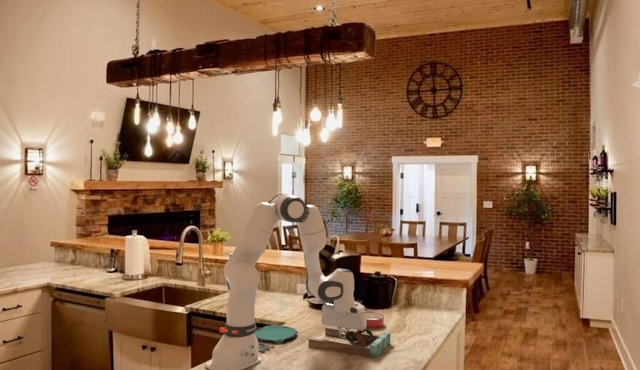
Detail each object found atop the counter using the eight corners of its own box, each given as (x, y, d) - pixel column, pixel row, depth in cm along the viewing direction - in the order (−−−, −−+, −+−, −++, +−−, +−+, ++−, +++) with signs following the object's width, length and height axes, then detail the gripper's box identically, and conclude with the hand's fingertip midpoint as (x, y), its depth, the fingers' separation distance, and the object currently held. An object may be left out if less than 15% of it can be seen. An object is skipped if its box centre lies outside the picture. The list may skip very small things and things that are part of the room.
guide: (375, 358, 200) (375, 346, 200) (308, 345, 213) (308, 334, 213) (390, 343, 217) (390, 332, 217) (327, 333, 230) (327, 322, 230)
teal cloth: (305, 333, 229) (305, 328, 229) (267, 356, 203) (267, 350, 203) (269, 327, 239) (269, 322, 239) (229, 347, 213) (229, 342, 213)
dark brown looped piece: (368, 341, 220) (374, 328, 217) (369, 358, 212) (376, 344, 208) (342, 335, 219) (348, 322, 215) (342, 351, 211) (348, 338, 207)
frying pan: (366, 343, 218) (367, 328, 218) (339, 338, 223) (339, 324, 223) (386, 322, 247) (386, 310, 247) (361, 319, 252) (361, 306, 252)
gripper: (319, 304, 218) (318, 335, 218) (363, 310, 209) (362, 343, 209) (325, 301, 223) (324, 331, 224) (368, 307, 215) (367, 338, 215)
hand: (343, 337), depth 216 cm, fingers closed
